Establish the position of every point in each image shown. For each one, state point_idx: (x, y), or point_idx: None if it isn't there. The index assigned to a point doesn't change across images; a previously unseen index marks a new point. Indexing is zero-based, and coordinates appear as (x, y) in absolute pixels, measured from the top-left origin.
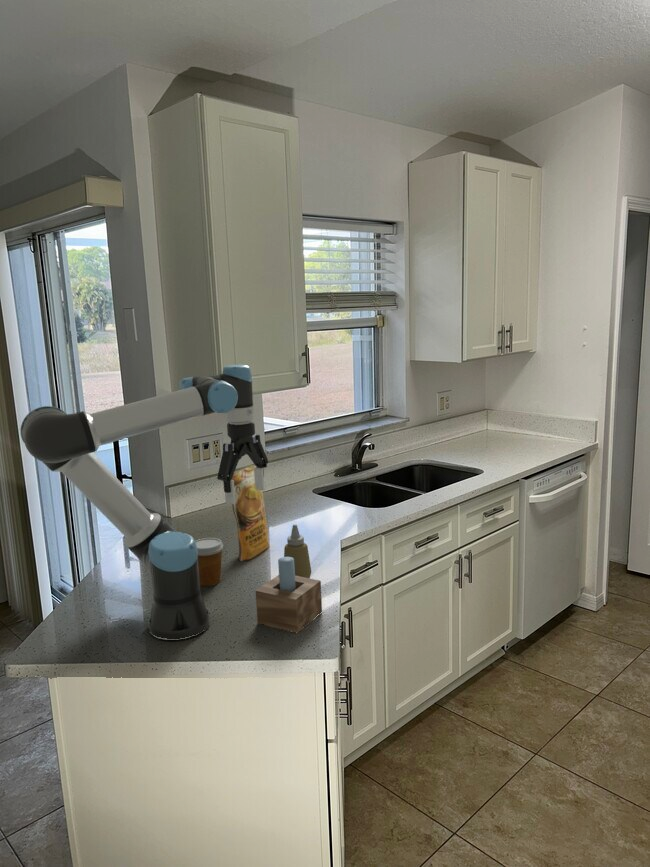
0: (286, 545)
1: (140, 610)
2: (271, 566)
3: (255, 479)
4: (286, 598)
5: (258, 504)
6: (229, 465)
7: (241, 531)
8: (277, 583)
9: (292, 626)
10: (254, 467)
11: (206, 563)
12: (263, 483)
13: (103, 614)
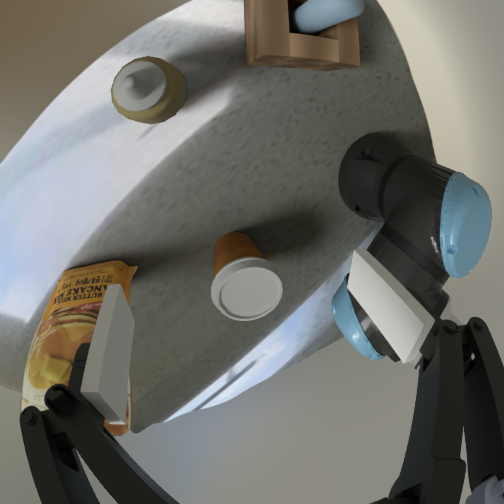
0: (161, 105)
1: (352, 256)
2: (116, 203)
3: (127, 359)
4: None
5: (50, 341)
6: (494, 386)
7: None
8: (315, 38)
9: None
10: None
11: (265, 257)
12: (104, 310)
13: None
